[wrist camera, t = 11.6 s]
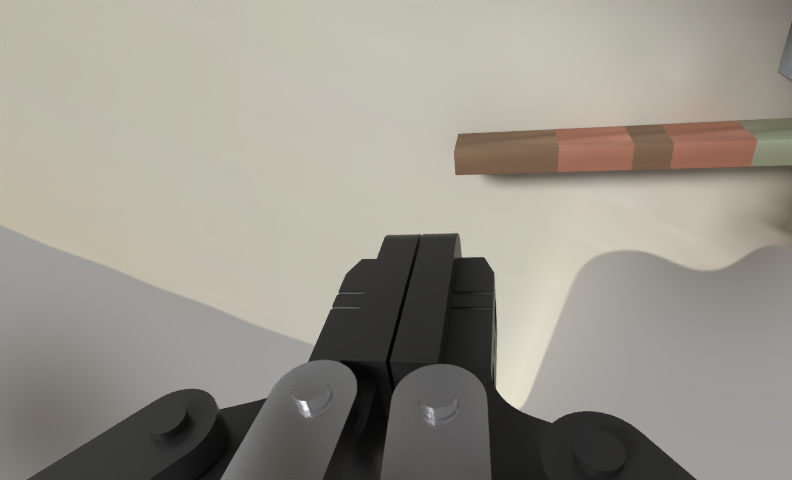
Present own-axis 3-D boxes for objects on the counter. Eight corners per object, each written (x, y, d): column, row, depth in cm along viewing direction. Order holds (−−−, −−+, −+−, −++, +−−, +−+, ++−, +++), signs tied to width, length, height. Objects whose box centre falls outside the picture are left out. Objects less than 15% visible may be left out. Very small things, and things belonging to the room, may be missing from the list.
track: (446, -74, 27) (439, -73, 24) (1014, -154, 21) (1080, -163, 19) (459, 155, 33) (455, 175, 31) (892, 139, 28) (929, 161, 25)
